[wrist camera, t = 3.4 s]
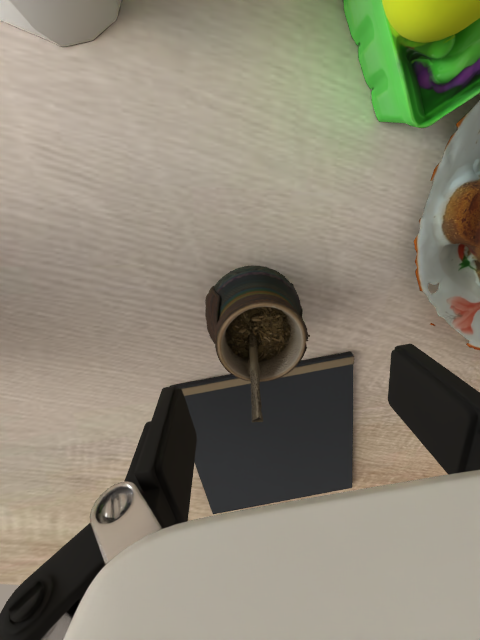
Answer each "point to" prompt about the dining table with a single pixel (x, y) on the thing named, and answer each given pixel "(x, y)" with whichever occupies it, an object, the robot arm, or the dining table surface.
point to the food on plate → (454, 232)
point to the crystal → (61, 18)
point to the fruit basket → (417, 56)
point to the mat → (274, 434)
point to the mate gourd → (256, 327)
